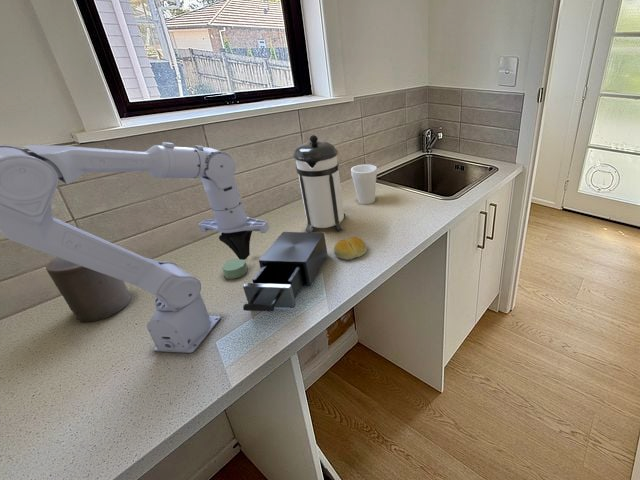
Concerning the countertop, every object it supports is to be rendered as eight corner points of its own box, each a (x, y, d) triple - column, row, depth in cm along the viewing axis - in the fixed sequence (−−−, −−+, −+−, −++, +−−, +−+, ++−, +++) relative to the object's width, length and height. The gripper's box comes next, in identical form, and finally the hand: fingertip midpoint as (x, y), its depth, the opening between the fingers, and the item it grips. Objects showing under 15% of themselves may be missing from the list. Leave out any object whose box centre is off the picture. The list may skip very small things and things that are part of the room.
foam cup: (383, 199, 129) (381, 167, 124) (368, 208, 122) (365, 174, 117) (365, 193, 134) (362, 162, 128) (349, 202, 127) (345, 169, 121)
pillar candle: (72, 329, 71) (35, 272, 64) (80, 303, 78) (47, 249, 71) (131, 309, 76) (102, 255, 69) (133, 287, 83) (107, 235, 76)
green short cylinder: (240, 279, 86) (238, 270, 85) (220, 278, 86) (217, 270, 85) (251, 266, 91) (249, 258, 89) (232, 265, 91) (229, 257, 90)
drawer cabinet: (310, 287, 83) (305, 261, 80) (265, 285, 84) (258, 260, 80) (327, 255, 95) (324, 232, 92) (288, 254, 96) (283, 231, 92)
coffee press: (360, 222, 112) (352, 134, 99) (318, 241, 102) (302, 145, 89) (332, 207, 123) (321, 125, 110) (291, 222, 113) (273, 134, 99)
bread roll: (332, 248, 98) (330, 237, 96) (362, 242, 102) (360, 230, 100) (337, 264, 92) (336, 251, 90) (369, 256, 95) (368, 244, 93)
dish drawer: (284, 323, 71) (279, 303, 68) (237, 322, 71) (230, 301, 69) (313, 273, 86) (310, 255, 84) (274, 272, 87) (269, 253, 84)
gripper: (269, 196, 73) (283, 247, 79) (206, 195, 74) (225, 246, 80) (252, 212, 67) (268, 266, 73) (183, 210, 68) (206, 264, 74)
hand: (244, 257), depth 76 cm, fingers closed
